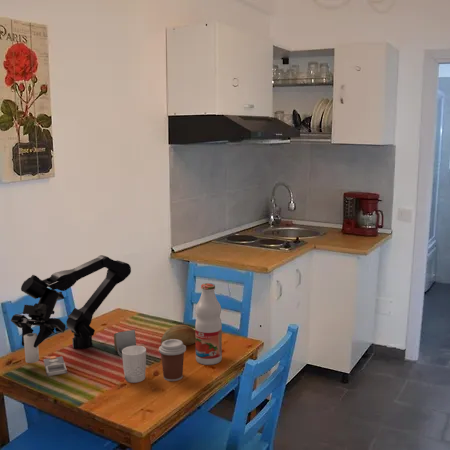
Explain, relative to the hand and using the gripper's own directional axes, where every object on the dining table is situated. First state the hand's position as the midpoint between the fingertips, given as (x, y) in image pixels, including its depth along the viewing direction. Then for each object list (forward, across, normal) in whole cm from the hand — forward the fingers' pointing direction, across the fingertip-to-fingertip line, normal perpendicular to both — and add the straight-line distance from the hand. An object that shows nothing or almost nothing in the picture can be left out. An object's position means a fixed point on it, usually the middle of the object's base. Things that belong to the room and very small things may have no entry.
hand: (28, 346), depth 183 cm
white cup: (+2, +36, +12) cm, 38 cm away
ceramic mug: (-11, +23, +26) cm, 36 cm away
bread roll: (-19, +40, +34) cm, 56 cm away
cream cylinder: (+3, 0, +5) cm, 6 cm away
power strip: (+4, +6, +10) cm, 13 cm away
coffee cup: (-1, +48, +15) cm, 50 cm away
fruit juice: (-12, +55, +27) cm, 62 cm away
